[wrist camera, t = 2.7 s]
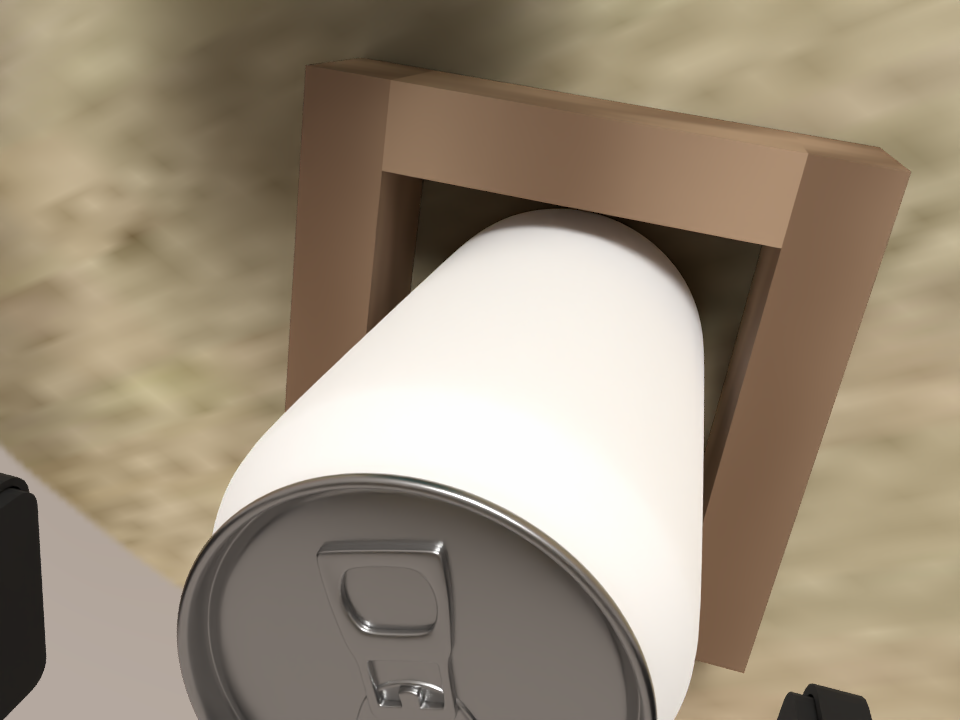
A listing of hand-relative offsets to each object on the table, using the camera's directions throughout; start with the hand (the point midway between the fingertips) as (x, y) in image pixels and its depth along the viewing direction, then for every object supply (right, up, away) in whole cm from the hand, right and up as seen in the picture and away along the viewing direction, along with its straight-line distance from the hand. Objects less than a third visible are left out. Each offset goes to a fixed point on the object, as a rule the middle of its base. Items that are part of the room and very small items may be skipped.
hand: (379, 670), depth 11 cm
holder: (+3, +4, +10) cm, 11 cm away
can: (+3, +4, +10) cm, 12 cm away
